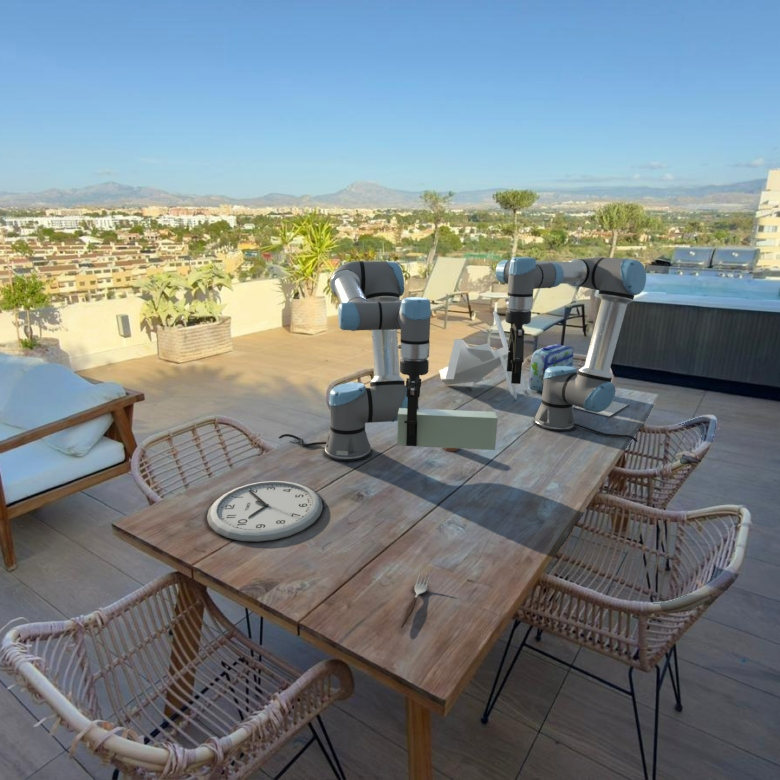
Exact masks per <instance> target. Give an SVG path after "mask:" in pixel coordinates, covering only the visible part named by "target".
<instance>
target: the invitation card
mask: <svg viewBox="0 0 780 780" xmlns="http://www.w3.org/2000/svg"><path fill="white" fill-rule="evenodd" d="M628 406H629V404H627V403H623V402H618V401H614V400H613V401H612V402H611V404H610V405H609V406H608V407H607V408H606V409H605V410H603V411H601V412H593V411H587V410H585V409H584V408H581V407H578V406H574V407H573V409H575V410H581V411H584V412H587V413H593V414H596V415H600V416H604V417H608V418H609V417H611V416H613V415H614V414H616V413H617V412H619V411H621V410H623V409H624V408H626V407H628Z"/></svg>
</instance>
